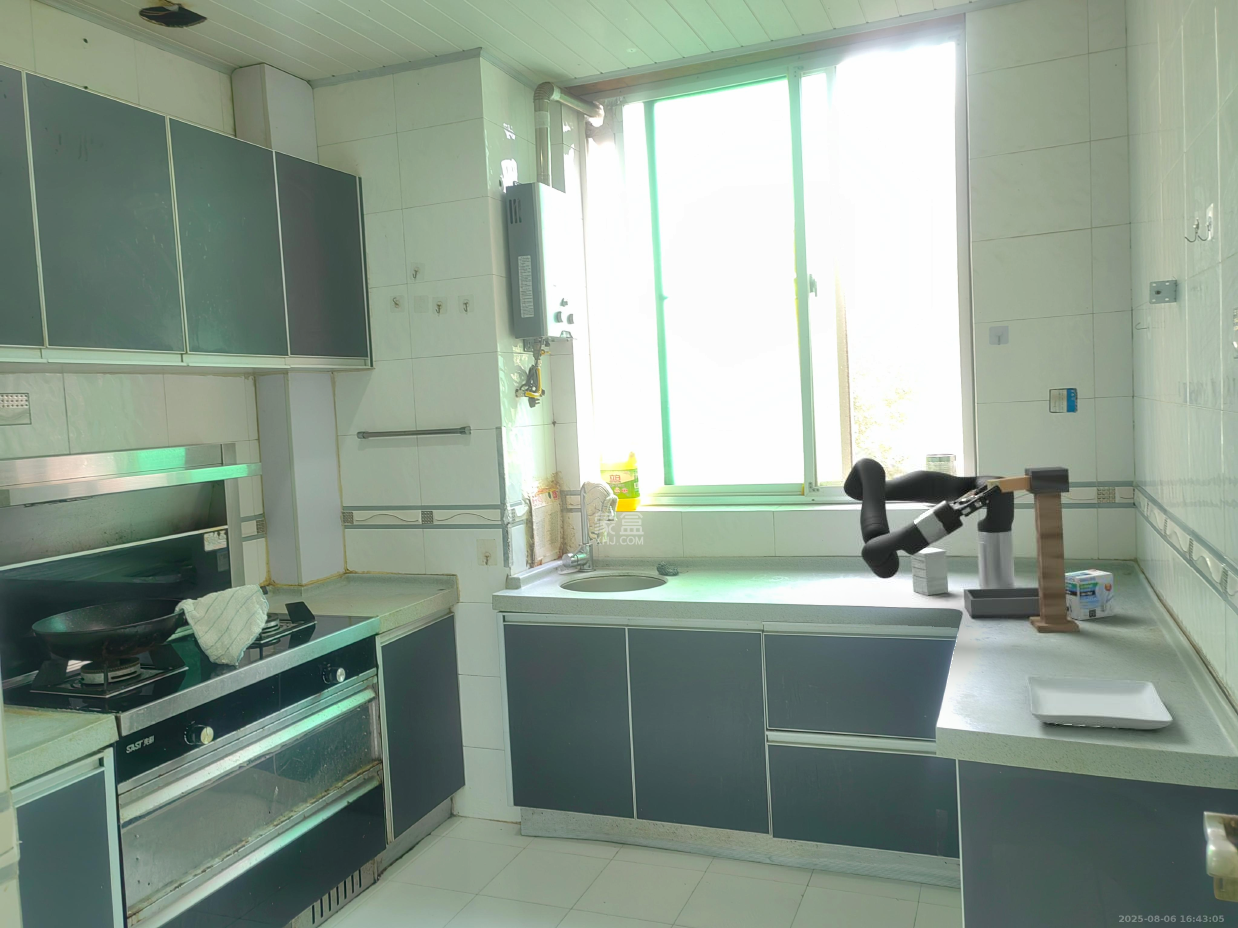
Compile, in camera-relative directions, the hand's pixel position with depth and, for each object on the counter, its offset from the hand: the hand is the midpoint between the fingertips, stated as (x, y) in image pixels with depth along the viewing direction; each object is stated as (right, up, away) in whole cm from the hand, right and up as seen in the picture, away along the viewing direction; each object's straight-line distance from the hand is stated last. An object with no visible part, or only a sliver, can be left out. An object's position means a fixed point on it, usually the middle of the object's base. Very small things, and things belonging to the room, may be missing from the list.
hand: (996, 486), depth 218 cm
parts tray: (+10, -33, +17) cm, 39 cm away
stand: (+14, -34, 0) cm, 37 cm away
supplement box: (+1, -33, +48) cm, 58 cm away
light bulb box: (+26, -33, +8) cm, 43 cm away
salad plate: (-7, -39, -58) cm, 70 cm away
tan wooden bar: (+5, -1, -1) cm, 5 cm away
